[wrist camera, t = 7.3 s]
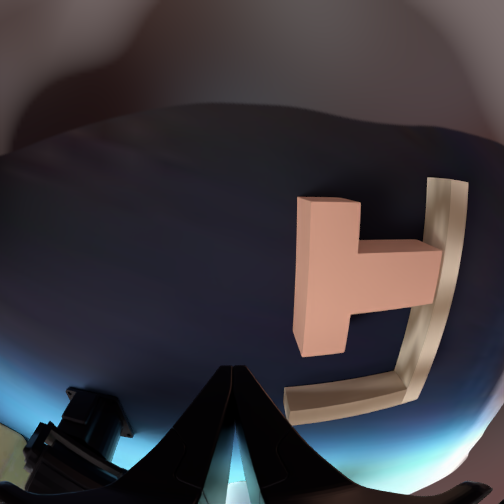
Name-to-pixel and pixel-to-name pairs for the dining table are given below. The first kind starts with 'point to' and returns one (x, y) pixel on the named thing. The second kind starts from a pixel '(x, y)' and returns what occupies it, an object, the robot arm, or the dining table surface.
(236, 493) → the foam cup
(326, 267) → the t block
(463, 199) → the wooden l block
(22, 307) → the dining table surface
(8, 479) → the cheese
